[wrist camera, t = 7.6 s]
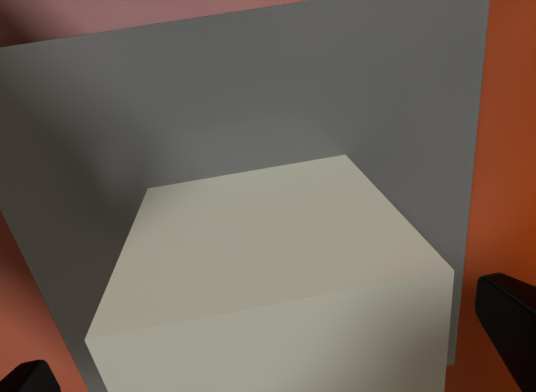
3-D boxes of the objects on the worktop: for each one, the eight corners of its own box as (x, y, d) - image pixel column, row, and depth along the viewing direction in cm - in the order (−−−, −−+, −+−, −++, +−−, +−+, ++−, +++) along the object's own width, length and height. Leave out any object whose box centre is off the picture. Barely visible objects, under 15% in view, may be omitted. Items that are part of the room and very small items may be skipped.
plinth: (425, -16, 11) (491, -28, 8) (415, 307, 16) (454, 364, 14) (0, 48, 11) (-74, 58, 8) (128, 362, 16) (109, 433, 13)
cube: (345, 154, 10) (454, 271, 5) (353, 307, 12) (436, 483, 7) (147, 188, 10) (84, 339, 5) (191, 338, 12) (175, 539, 7)
